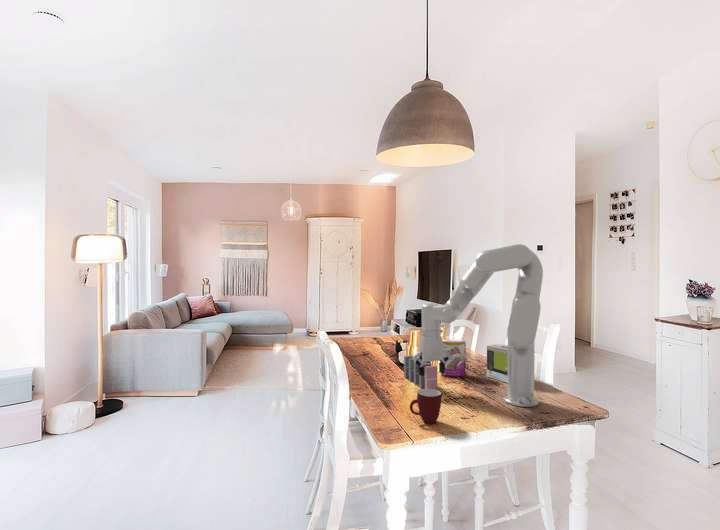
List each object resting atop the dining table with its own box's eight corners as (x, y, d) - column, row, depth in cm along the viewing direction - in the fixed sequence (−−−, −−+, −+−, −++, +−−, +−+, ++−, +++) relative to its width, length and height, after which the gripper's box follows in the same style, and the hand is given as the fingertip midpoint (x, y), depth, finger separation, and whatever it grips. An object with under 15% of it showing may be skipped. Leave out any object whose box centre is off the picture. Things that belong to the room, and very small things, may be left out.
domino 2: (420, 380, 178) (420, 358, 178) (410, 381, 176) (410, 359, 176) (418, 379, 180) (418, 357, 179) (408, 380, 178) (408, 358, 178)
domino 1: (415, 377, 182) (415, 356, 182) (405, 378, 181) (405, 357, 181) (413, 376, 184) (413, 355, 184) (404, 377, 182) (403, 356, 182)
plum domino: (437, 390, 164) (437, 366, 164) (426, 391, 163) (426, 367, 163) (435, 389, 166) (435, 365, 166) (424, 390, 164) (424, 366, 164)
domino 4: (431, 386, 169) (431, 363, 169) (421, 388, 167) (420, 364, 167) (429, 385, 171) (429, 362, 170) (419, 387, 169) (419, 363, 169)
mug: (413, 428, 128) (413, 397, 128) (407, 418, 136) (407, 389, 136) (445, 426, 129) (444, 395, 129) (437, 416, 137) (436, 387, 137)
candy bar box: (441, 376, 184) (441, 341, 184) (440, 373, 189) (440, 339, 189) (466, 377, 183) (465, 341, 183) (464, 373, 188) (464, 339, 188)
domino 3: (425, 383, 173) (425, 361, 173) (415, 385, 172) (415, 362, 172) (423, 382, 175) (423, 360, 175) (413, 383, 173) (413, 361, 173)
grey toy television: (528, 382, 175) (528, 348, 175) (512, 385, 170) (512, 351, 170) (501, 373, 188) (501, 342, 188) (486, 376, 183) (486, 344, 183)
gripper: (444, 330, 170) (444, 369, 171) (408, 333, 165) (409, 374, 165) (454, 333, 163) (454, 374, 164) (416, 336, 157) (417, 379, 158)
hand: (431, 374), depth 164 cm, fingers open, 9 cm apart
